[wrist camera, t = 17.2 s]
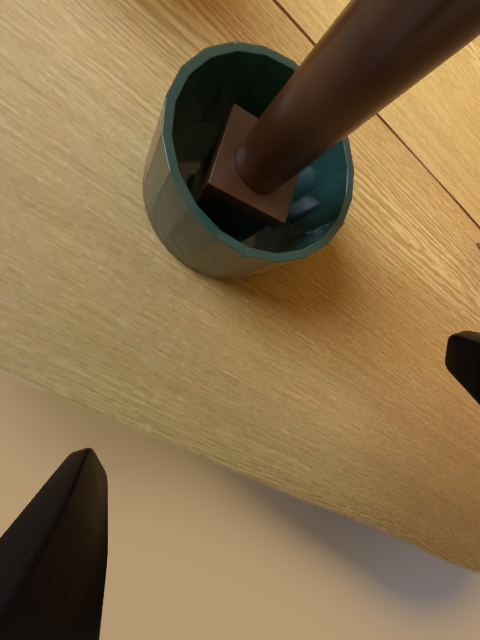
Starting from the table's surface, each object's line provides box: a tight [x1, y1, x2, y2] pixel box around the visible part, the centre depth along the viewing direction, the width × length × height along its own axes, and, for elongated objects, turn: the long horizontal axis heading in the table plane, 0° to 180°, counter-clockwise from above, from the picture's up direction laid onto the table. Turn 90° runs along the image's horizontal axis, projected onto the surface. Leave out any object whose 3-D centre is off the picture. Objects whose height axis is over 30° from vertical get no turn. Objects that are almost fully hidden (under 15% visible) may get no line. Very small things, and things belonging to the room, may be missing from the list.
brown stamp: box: [193, 0, 480, 239], centre depth 12 cm, size 4×4×14 cm
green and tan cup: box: [143, 41, 354, 279], centre depth 16 cm, size 9×9×6 cm
